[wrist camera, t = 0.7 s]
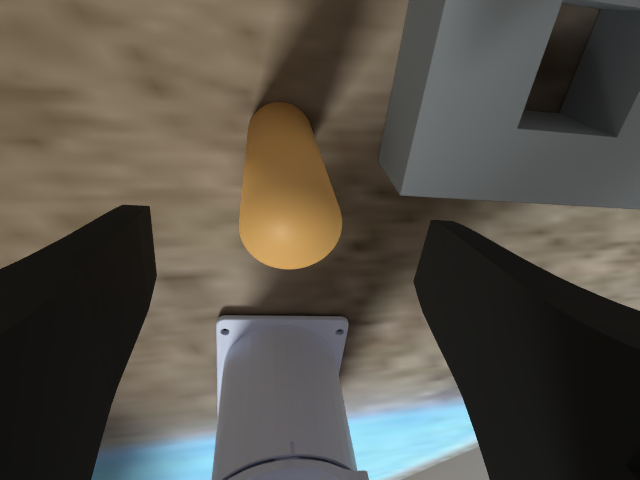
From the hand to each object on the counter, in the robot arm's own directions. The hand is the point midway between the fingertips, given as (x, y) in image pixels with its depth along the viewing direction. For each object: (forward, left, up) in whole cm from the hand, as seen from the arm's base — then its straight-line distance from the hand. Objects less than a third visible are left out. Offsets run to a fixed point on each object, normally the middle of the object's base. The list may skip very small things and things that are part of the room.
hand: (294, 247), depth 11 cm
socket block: (+4, -12, -10) cm, 16 cm away
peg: (0, 0, -10) cm, 10 cm away
